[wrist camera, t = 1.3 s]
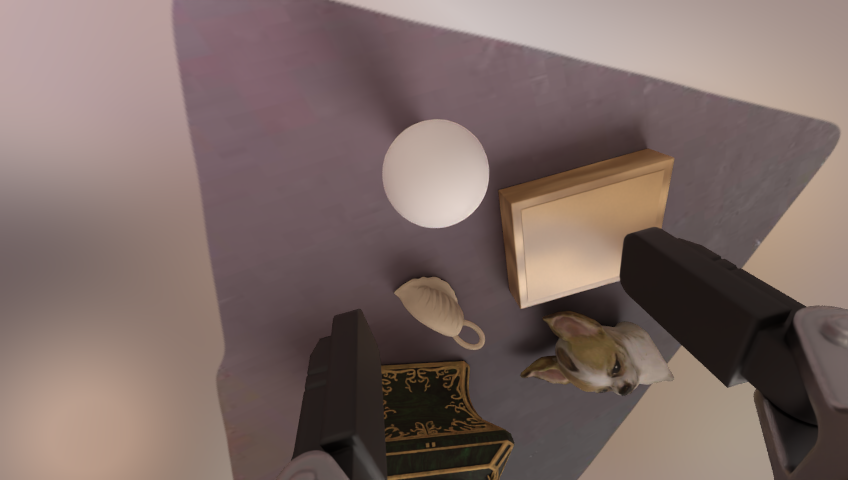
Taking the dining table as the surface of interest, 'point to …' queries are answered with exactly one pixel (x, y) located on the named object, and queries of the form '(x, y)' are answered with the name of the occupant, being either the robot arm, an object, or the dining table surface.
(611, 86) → the dining table surface
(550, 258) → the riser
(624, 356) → the ceramic sculpture
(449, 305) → the decorative ornament
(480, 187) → the lightbulb
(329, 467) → the robot arm
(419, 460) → the decorative box
